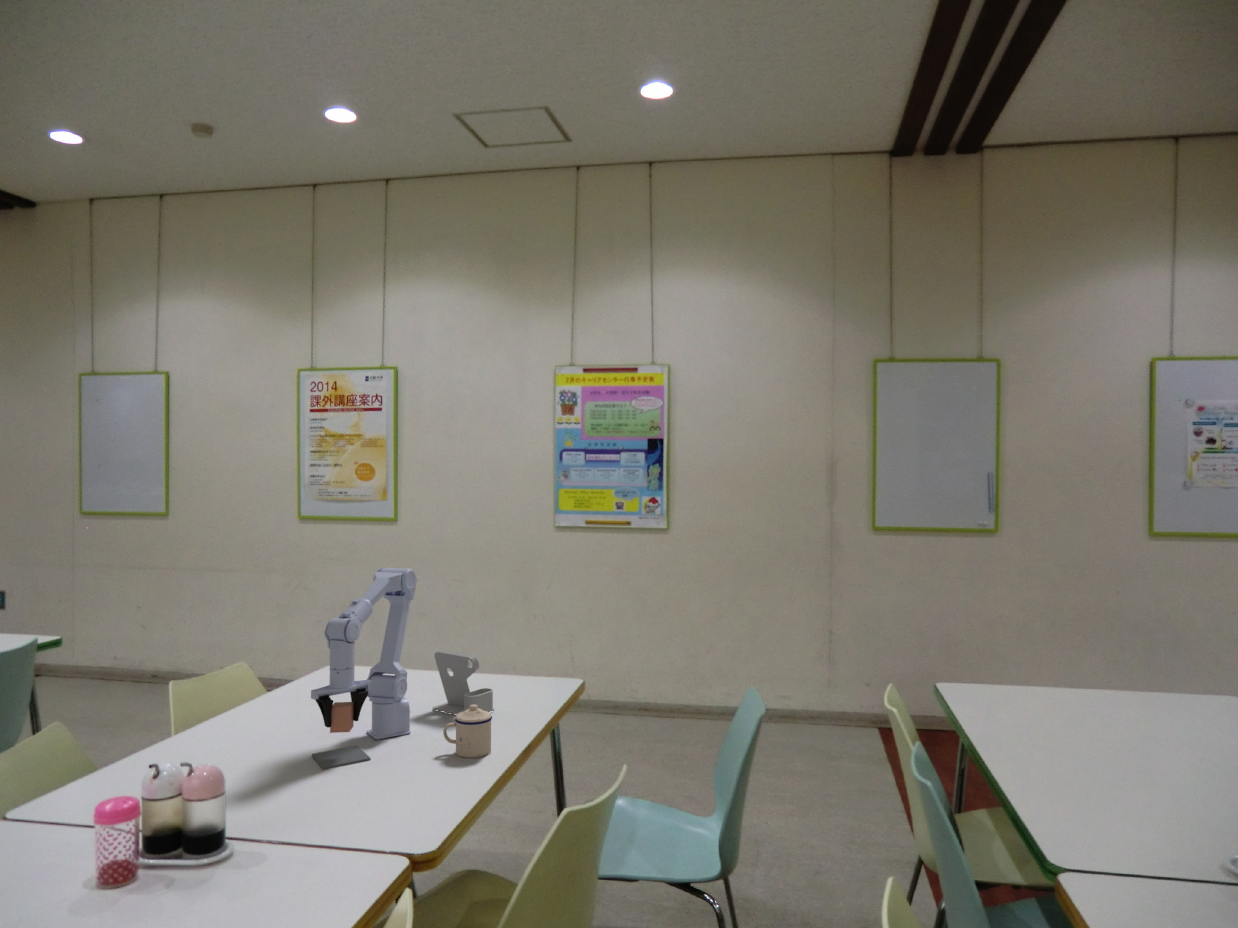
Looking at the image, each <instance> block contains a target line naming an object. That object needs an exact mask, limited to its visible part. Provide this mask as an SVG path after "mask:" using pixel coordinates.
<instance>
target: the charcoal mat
mask: <svg viewBox="0 0 1238 928" xmlns="http://www.w3.org/2000/svg"><path fill="white" fill-rule="evenodd" d="M311 757H312V758H313V759H314V760H315V762H316V763H317V764H318V766H320V768H322V770H327V769H331V768H332V769H333V768H337V766H338V767H343V766H348V765H352V764H356V763H357V764H358V763H362V762H367V761H371V757H370V756H369V755H368V754H367V753H366V752H365V751H364V750H363V749H361V747H359V745H352V746H347V747H342V748H336V749H332V750H324V751H321V752H320V751H319V752H314V753H311Z"/></svg>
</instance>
